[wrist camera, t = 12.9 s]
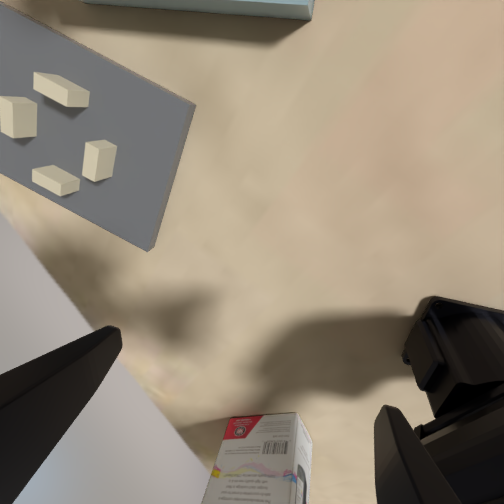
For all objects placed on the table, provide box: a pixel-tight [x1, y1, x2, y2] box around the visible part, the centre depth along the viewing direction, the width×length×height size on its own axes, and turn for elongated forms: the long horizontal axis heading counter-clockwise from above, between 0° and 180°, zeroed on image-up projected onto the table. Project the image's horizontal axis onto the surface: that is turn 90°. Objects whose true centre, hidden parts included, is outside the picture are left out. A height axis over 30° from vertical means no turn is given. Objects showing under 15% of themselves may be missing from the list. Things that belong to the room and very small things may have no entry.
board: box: [0, 1, 196, 252], centre depth 20 cm, size 16×12×3 cm
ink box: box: [201, 413, 312, 504], centre depth 26 cm, size 9×5×12 cm, turn 114°
